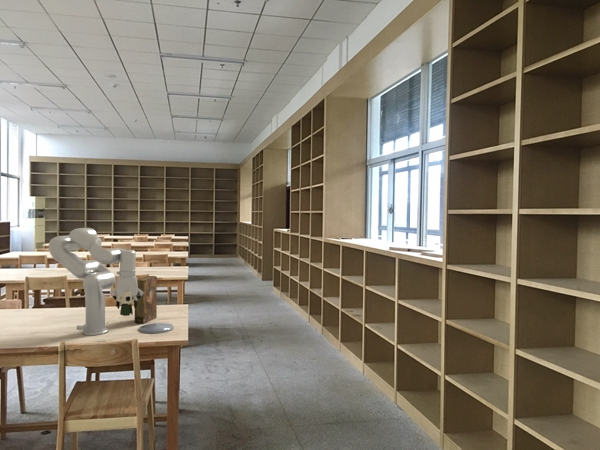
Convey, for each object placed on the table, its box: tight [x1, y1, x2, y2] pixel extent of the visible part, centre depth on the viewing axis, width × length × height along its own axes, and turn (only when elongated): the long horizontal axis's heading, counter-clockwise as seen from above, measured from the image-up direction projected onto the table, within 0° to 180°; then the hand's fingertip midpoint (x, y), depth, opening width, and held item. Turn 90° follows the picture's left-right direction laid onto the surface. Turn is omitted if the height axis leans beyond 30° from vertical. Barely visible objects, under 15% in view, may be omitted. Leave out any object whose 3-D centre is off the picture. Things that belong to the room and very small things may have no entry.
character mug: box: [117, 292, 135, 317], centre depth 244 cm, size 11×7×13 cm, turn 150°
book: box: [134, 275, 158, 324], centre depth 278 cm, size 16×6×25 cm, turn 168°
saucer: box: [138, 322, 175, 334], centre depth 260 cm, size 18×18×1 cm
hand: (126, 307), depth 244 cm, fingers closed on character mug, 7 cm apart
